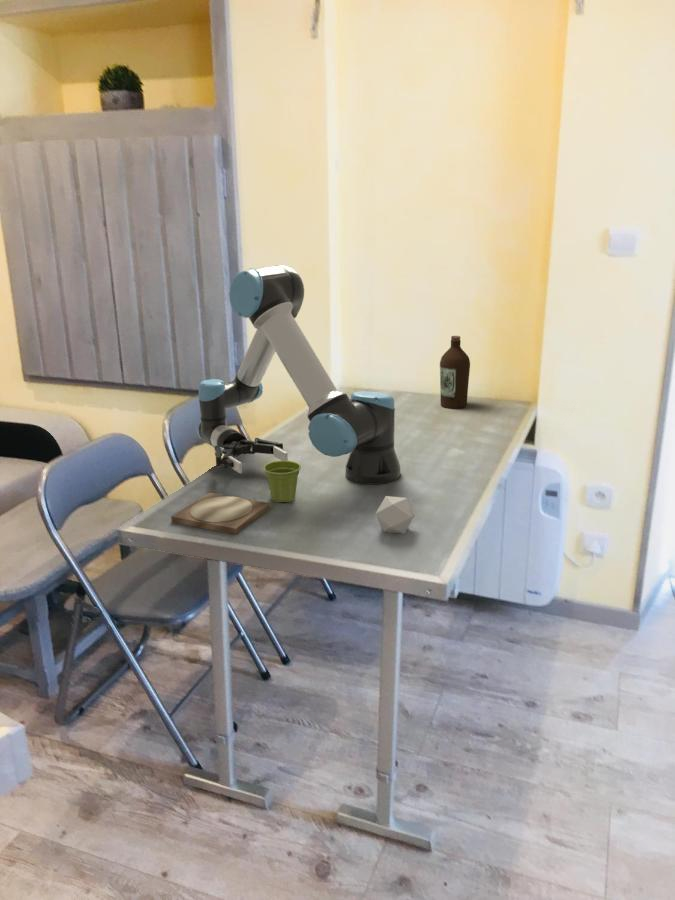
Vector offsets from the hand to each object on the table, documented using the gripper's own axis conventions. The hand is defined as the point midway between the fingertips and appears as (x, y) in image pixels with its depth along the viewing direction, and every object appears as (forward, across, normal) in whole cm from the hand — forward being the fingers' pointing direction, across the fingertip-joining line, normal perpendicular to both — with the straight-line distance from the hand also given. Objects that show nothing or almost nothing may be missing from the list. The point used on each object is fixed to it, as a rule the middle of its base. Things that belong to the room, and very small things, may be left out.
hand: (264, 462), depth 198 cm
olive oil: (-29, -92, -7) cm, 97 cm away
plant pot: (+10, 0, -7) cm, 12 cm away
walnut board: (+10, +18, -7) cm, 21 cm away
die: (+42, -12, -6) cm, 44 cm away
